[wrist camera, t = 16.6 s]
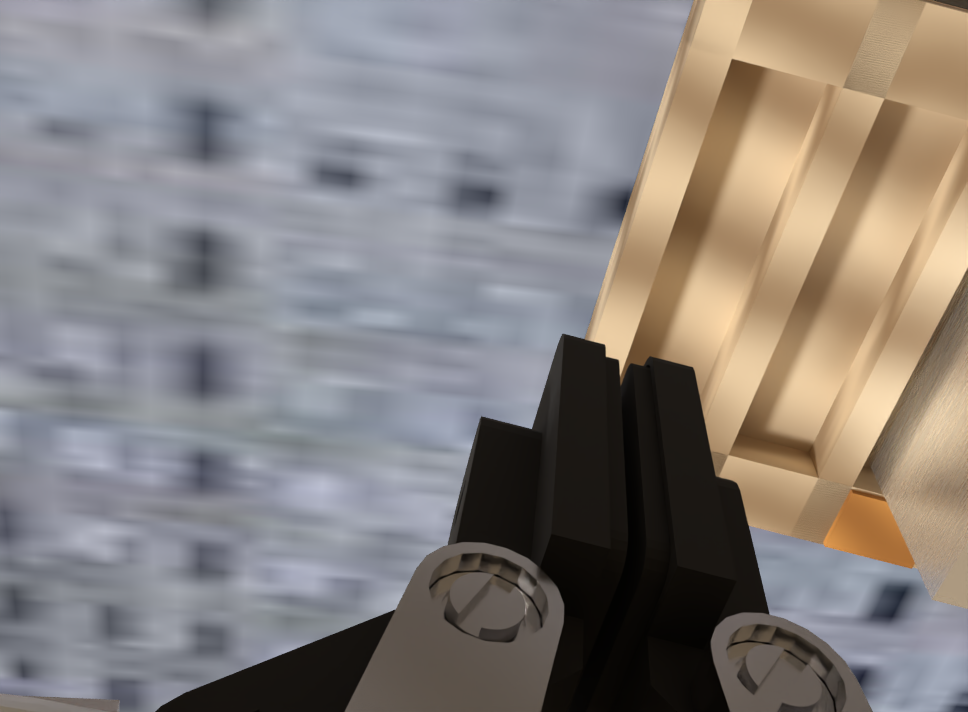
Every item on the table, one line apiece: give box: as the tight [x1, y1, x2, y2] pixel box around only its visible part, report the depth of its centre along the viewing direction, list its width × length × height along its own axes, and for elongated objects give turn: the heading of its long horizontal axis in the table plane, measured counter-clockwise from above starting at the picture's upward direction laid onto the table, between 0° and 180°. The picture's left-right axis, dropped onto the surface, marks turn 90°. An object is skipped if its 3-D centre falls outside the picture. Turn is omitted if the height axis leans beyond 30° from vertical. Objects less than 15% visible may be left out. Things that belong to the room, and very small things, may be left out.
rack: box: [585, 0, 968, 569], centre depth 37 cm, size 22×18×3 cm
